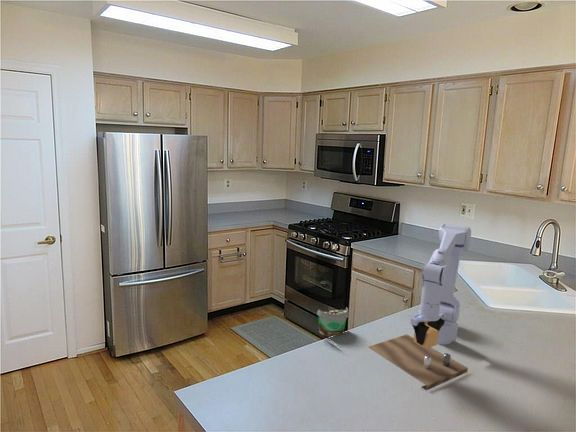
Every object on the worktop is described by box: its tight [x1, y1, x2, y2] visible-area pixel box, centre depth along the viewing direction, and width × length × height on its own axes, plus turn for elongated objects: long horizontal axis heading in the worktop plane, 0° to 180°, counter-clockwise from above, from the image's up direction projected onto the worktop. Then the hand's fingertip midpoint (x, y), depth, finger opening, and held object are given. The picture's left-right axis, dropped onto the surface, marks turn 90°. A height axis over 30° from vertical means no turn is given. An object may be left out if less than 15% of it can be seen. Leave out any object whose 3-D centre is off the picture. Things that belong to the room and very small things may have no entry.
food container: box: [316, 306, 350, 340], centre depth 143 cm, size 12×6×10 cm, turn 105°
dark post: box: [443, 353, 451, 367], centre depth 125 cm, size 2×2×5 cm
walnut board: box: [367, 334, 469, 391], centre depth 130 cm, size 20×25×2 cm
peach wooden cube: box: [413, 324, 438, 349], centre depth 124 cm, size 5×5×5 cm
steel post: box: [423, 356, 431, 369], centre depth 123 cm, size 2×2×5 cm
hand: (425, 341), depth 124 cm, fingers closed on peach wooden cube, 5 cm apart
